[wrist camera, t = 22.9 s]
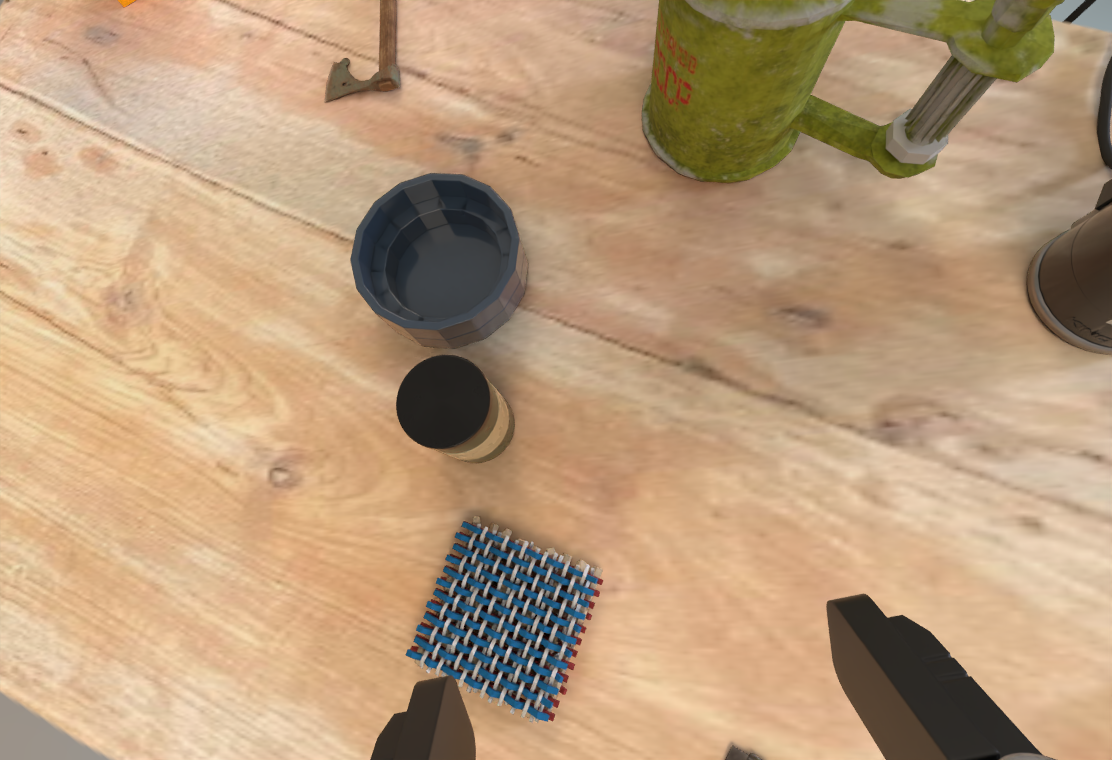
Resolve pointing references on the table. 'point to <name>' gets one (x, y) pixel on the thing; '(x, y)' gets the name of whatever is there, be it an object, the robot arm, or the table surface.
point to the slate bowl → (440, 260)
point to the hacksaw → (740, 755)
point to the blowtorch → (794, 66)
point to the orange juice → (126, 2)
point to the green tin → (454, 410)
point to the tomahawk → (387, 69)
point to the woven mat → (507, 620)
